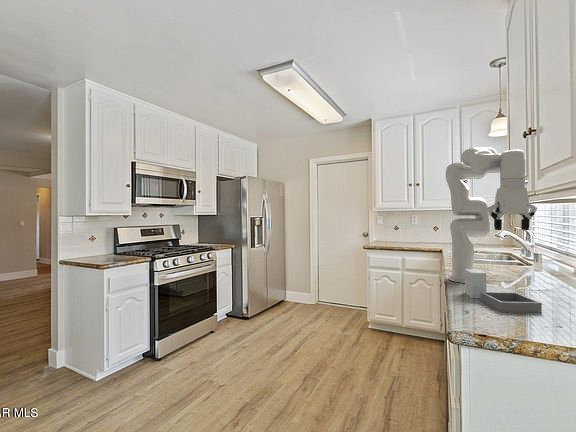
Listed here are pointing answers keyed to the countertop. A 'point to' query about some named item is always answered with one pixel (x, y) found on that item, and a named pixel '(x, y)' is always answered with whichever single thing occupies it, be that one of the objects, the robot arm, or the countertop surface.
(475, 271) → the small box
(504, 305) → the tray
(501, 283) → the countertop surface
